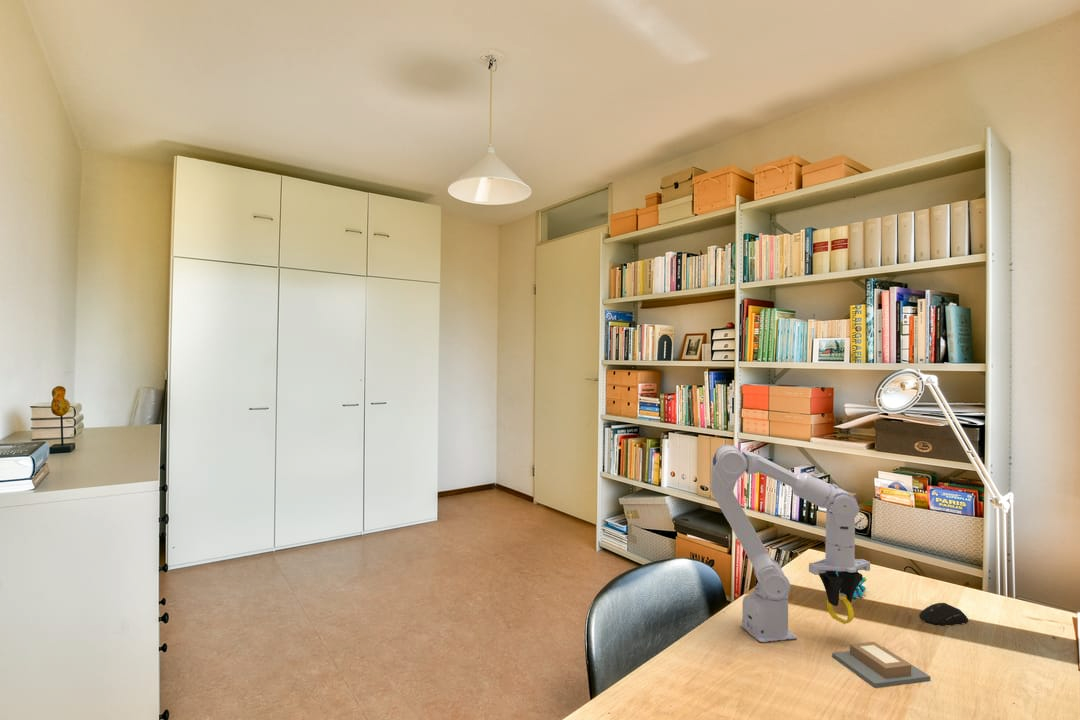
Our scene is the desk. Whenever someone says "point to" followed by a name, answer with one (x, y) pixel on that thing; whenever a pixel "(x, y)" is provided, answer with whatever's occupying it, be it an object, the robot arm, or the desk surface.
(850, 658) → the base board
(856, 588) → the blue virus model
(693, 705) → the desk surface
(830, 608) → the watch
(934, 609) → the gaming mouse
